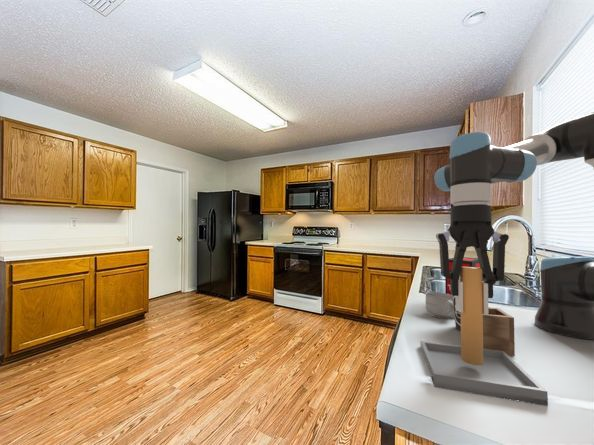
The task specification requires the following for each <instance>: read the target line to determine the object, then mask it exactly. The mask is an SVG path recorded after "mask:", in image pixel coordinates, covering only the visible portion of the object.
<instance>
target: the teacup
mask: <svg viewBox="0 0 594 445" xmlns="http://www.w3.org/2000/svg"><path fill="white" fill-rule="evenodd" d="M425 309H426V311H427V312H428V313H429V314H430V315H431V316H432V317H434V318H438V319H443V320H452V319H455V314H454V304H453V295H451V294H446V293H444V292H439V291H427V292H425Z"/></svg>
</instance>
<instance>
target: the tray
mask: <svg viewBox="0 0 594 445" xmlns="http://www.w3.org/2000/svg"><path fill="white" fill-rule="evenodd" d="M420 349H421V351H422V356H424V359H425V361H426V364H427V367H428V369H429V372H430V375H431V376H430V379H431V382H432V384H433V387H434V388H437V389H438V388H440V389H444V390H445V389H446V390H450V391H457V392H461V393H462V392H463V393H469V394H473V395H474V394H475V395H481V396H486V397H490V398H491V397H492V398H498V399H504V398H505V399H504V400H509V399H511V401H515V400H519V401H518V402H521V401H525V402H524V403H527V402H530V403H529V404H533V403H535V404H534V405H539V404H540V406H546V407H548V406H549V405H548V404H549V402H548V401H549V400H548V390H547V389H546V388H544V387H543V386H542V385H541V384H540V383H539V382H538V381H537V380H536V379H534V377H533V376H532V375H530V374H529V373H528V372H527V371H526V370H525V369H524V368H523V367H522V366H521V365H519V363H517V362H516V361H515V360H514V359H513V358H512V357H511V355H508V354H506V353H505V352H504V351H499V350H491V349H483V365H472V364H469V363H466V362H464V361H463V360H462V359H461V345H455V344H448V343H441V342H433V341H432V342H431V341H424V340H420Z"/></svg>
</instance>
